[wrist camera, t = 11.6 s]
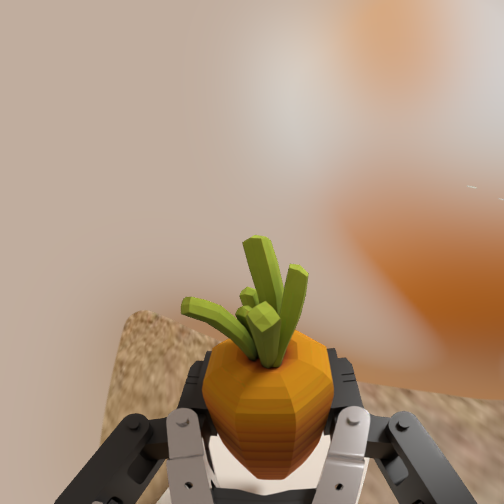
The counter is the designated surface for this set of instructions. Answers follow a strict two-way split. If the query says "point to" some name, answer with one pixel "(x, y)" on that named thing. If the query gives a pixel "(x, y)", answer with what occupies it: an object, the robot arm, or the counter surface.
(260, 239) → the carrot
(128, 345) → the counter surface
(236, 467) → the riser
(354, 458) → the robot arm
